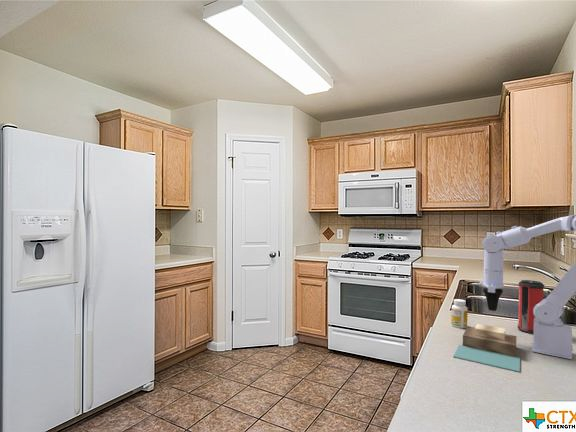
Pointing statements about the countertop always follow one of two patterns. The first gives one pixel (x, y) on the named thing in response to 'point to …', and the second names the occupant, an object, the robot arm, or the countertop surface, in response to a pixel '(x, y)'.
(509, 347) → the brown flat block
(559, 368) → the countertop surface
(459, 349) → the mat
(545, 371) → the countertop surface
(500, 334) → the maple block
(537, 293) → the speaker
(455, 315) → the supplement bottle
